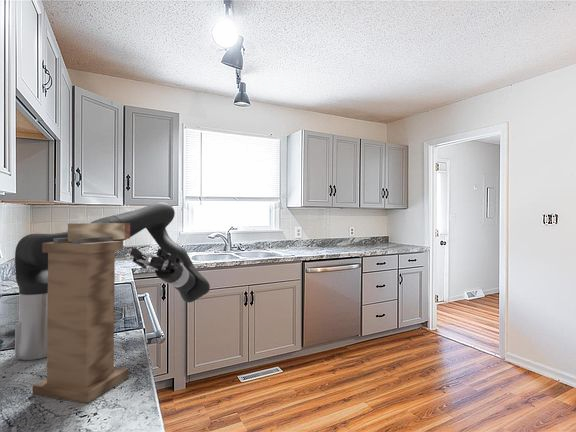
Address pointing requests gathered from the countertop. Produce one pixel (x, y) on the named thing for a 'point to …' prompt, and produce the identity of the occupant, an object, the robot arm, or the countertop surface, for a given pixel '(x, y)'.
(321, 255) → the countertop surface
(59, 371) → the walnut stand
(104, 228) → the maple bar
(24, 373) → the countertop surface
